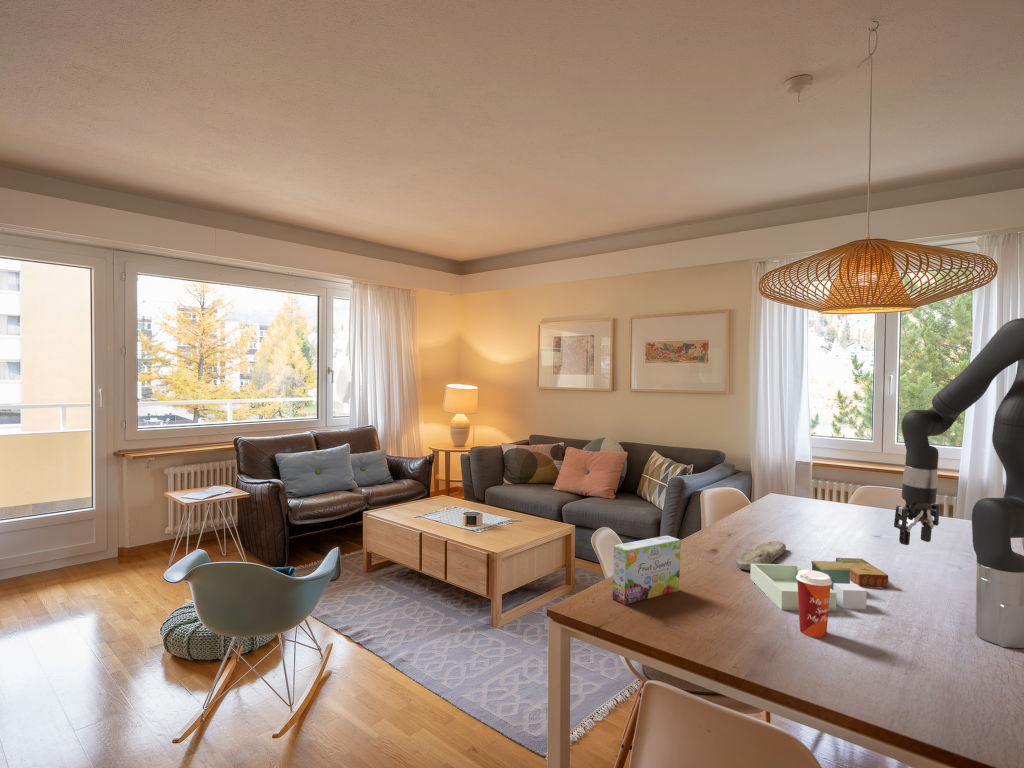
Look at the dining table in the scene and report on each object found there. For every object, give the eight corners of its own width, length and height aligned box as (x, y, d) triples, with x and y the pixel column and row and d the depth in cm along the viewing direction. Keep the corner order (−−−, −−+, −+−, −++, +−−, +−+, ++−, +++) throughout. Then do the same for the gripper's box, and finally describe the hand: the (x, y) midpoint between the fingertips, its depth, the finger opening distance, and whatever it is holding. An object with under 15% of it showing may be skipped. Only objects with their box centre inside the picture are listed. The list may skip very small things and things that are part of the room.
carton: (858, 587, 165) (858, 573, 165) (834, 569, 181) (834, 556, 181) (888, 589, 164) (889, 574, 164) (862, 570, 180) (862, 557, 180)
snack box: (626, 606, 149) (626, 549, 148) (611, 599, 153) (612, 544, 153) (680, 591, 160) (681, 538, 160) (665, 584, 165) (666, 533, 164)
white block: (866, 609, 148) (866, 590, 148) (842, 608, 149) (843, 590, 149) (855, 602, 153) (855, 583, 153) (833, 601, 154) (833, 583, 154)
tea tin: (850, 592, 160) (850, 568, 160) (820, 592, 160) (821, 567, 160) (839, 585, 166) (840, 561, 166) (810, 584, 166) (811, 560, 166)
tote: (836, 611, 146) (836, 592, 146) (781, 609, 147) (781, 590, 147) (797, 581, 168) (798, 564, 168) (750, 579, 169) (750, 563, 169)
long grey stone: (793, 555, 199) (763, 550, 206) (792, 540, 200) (763, 536, 206) (762, 575, 173) (730, 569, 179) (762, 557, 173) (729, 552, 180)
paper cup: (816, 642, 129) (817, 582, 129) (787, 628, 136) (788, 571, 136) (839, 636, 132) (840, 577, 132) (810, 623, 139) (811, 567, 139)
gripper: (916, 489, 144) (911, 550, 145) (952, 485, 149) (947, 544, 150) (887, 482, 151) (883, 540, 152) (922, 478, 156) (918, 535, 157)
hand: (914, 542), depth 151 cm, fingers open, 8 cm apart
